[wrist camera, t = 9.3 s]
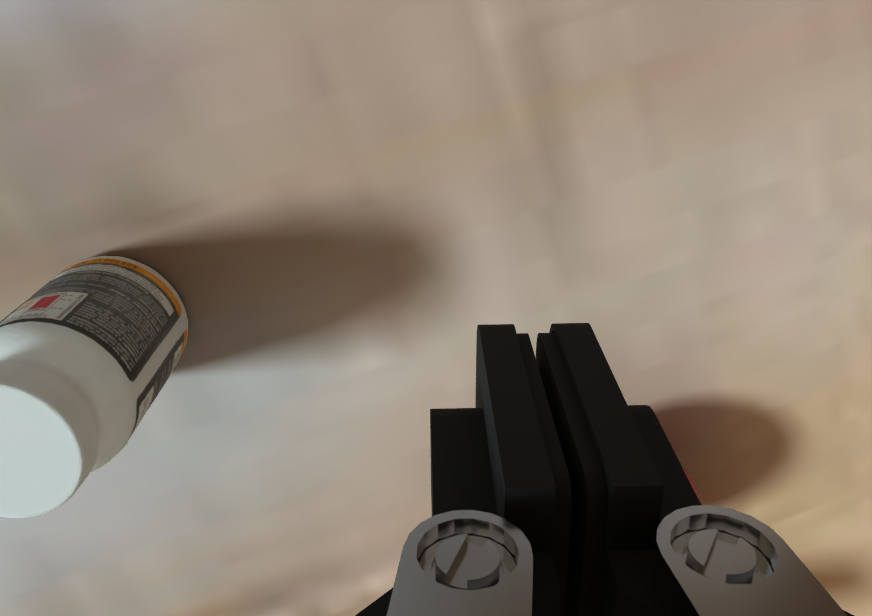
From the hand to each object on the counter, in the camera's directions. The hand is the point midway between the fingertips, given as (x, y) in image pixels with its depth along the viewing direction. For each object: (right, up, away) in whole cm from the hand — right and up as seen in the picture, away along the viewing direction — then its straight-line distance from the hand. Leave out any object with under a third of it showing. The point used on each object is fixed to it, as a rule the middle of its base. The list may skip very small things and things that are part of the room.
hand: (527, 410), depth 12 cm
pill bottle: (-14, +1, +20) cm, 24 cm away
